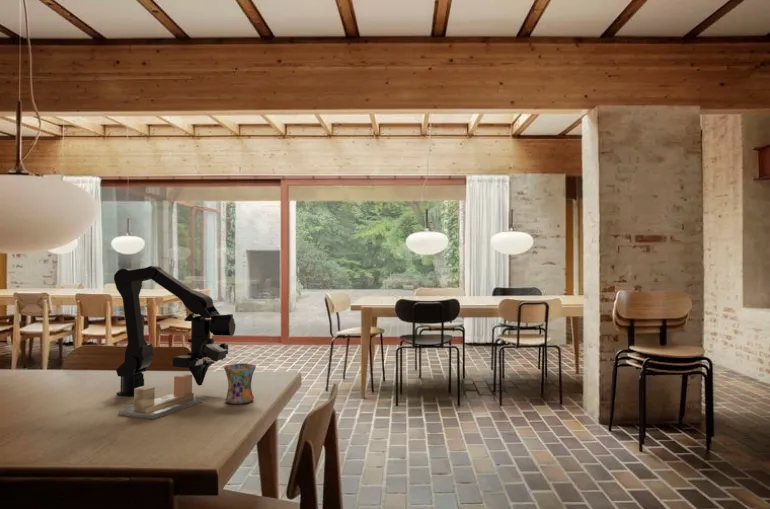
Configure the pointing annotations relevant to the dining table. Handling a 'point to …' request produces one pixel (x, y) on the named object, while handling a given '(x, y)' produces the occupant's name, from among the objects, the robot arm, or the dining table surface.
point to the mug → (239, 383)
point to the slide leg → (182, 385)
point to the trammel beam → (146, 399)
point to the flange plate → (162, 411)
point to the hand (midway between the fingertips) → (199, 385)
